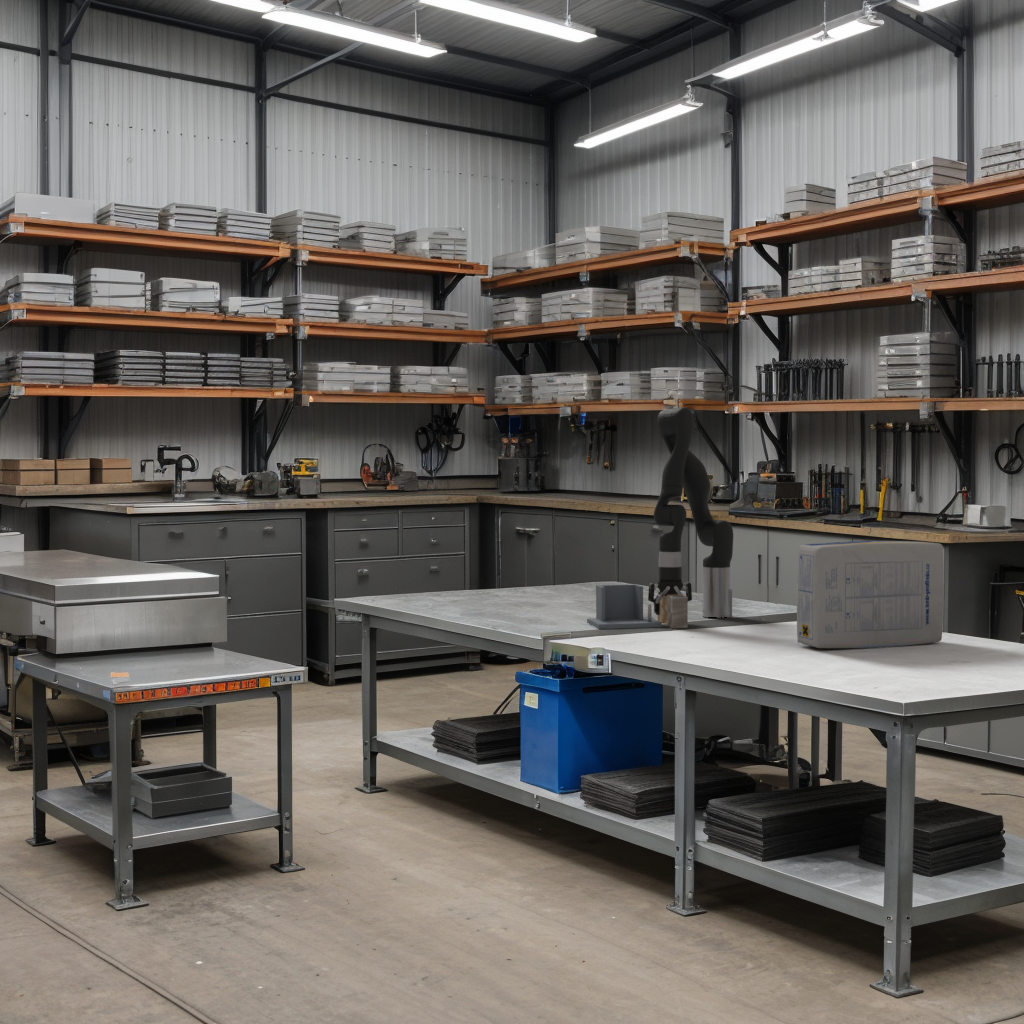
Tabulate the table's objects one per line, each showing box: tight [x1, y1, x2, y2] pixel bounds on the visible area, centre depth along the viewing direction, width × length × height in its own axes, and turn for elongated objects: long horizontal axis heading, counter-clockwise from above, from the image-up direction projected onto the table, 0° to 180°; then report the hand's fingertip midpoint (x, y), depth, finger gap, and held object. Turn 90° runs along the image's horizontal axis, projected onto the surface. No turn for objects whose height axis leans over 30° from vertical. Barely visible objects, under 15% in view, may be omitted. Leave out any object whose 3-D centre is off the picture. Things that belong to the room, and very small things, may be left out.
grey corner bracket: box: [586, 583, 663, 630], centre depth 397 cm, size 21×15×12 cm
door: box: [657, 590, 689, 629], centre depth 398 cm, size 19×5×10 cm, turn 11°
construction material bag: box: [796, 540, 945, 649], centre depth 351 cm, size 43×12×30 cm, turn 108°
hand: (670, 614), depth 399 cm, fingers open, 8 cm apart
